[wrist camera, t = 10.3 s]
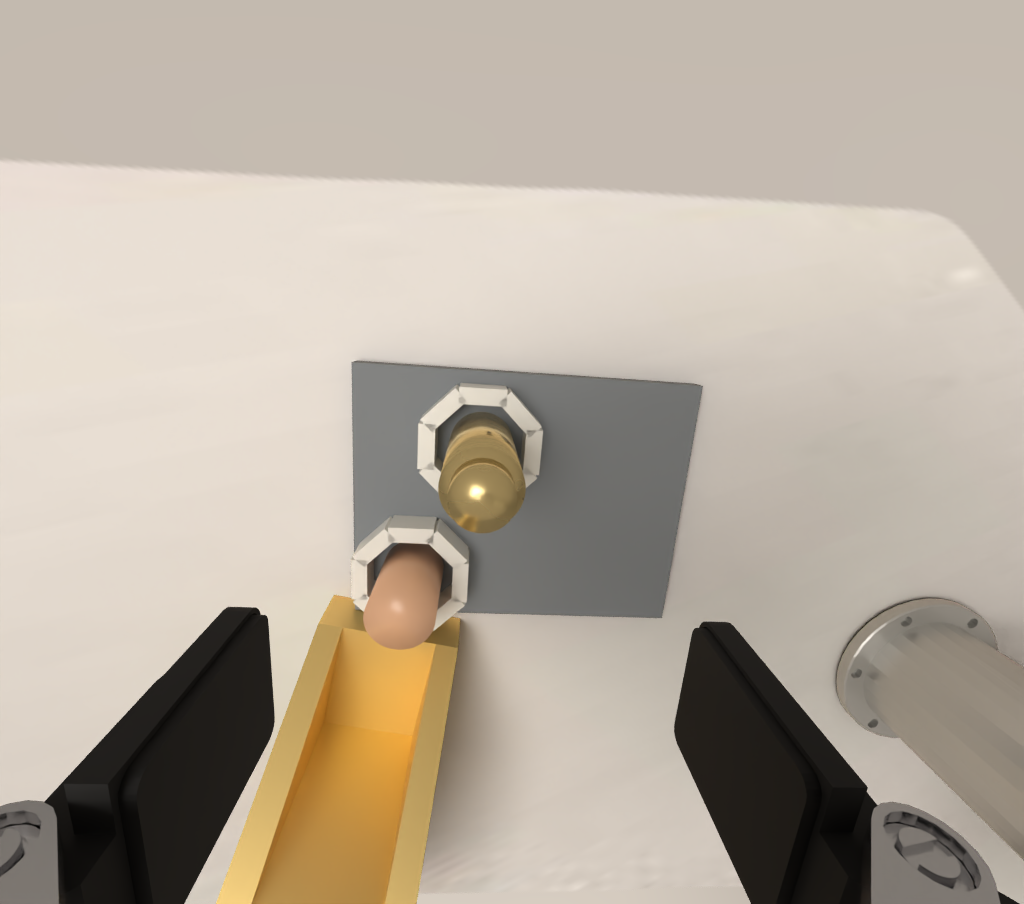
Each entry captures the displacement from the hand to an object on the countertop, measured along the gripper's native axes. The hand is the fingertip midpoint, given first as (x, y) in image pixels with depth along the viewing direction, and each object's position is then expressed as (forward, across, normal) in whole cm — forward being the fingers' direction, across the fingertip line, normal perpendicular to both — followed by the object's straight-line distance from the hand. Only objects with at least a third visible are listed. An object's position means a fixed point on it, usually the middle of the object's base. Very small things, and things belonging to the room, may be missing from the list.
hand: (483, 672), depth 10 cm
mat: (+22, -3, +4) cm, 23 cm away
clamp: (+22, +7, +23) cm, 33 cm away
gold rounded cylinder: (+21, 0, 0) cm, 21 cm away
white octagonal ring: (+21, 0, 0) cm, 21 cm away
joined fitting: (+21, +4, +9) cm, 23 cm away
